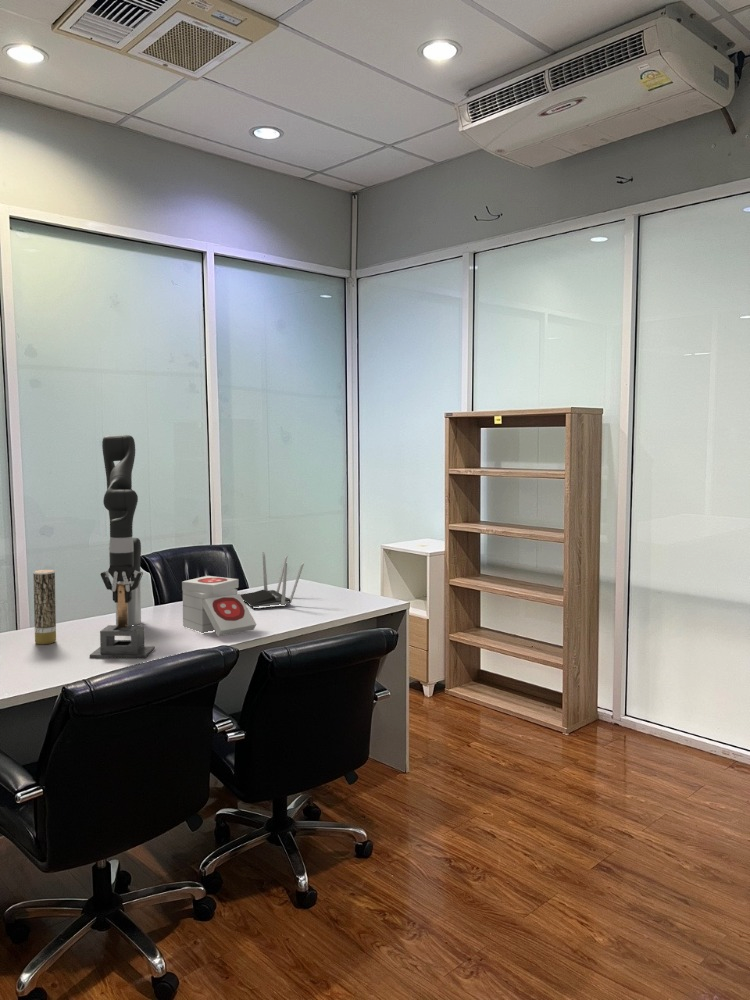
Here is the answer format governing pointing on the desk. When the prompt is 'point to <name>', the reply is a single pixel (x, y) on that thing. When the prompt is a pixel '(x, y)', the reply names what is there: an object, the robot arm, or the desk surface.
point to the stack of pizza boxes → (215, 606)
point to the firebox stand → (122, 643)
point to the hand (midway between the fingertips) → (122, 602)
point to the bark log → (44, 606)
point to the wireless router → (271, 596)
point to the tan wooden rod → (121, 606)
